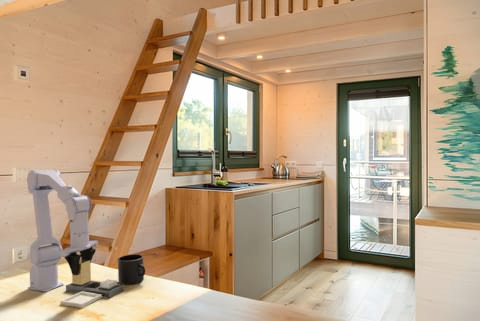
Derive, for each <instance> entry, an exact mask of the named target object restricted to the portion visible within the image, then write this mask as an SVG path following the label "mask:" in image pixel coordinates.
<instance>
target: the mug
mask: <svg viewBox="0 0 480 321" xmlns="http://www.w3.org/2000/svg"><path fill="white" fill-rule="evenodd" d="M117 267H118V268H117V277H118V280H117V281H118V283H119V284H120V285H136V284H138V283H141V282H143V281H144V280H145V279H144V278H145V274H146V268H145V266H144V256H143V255H142V254H135V253H134V254H127V255H123V256H119V257H118V258H117Z"/></svg>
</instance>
